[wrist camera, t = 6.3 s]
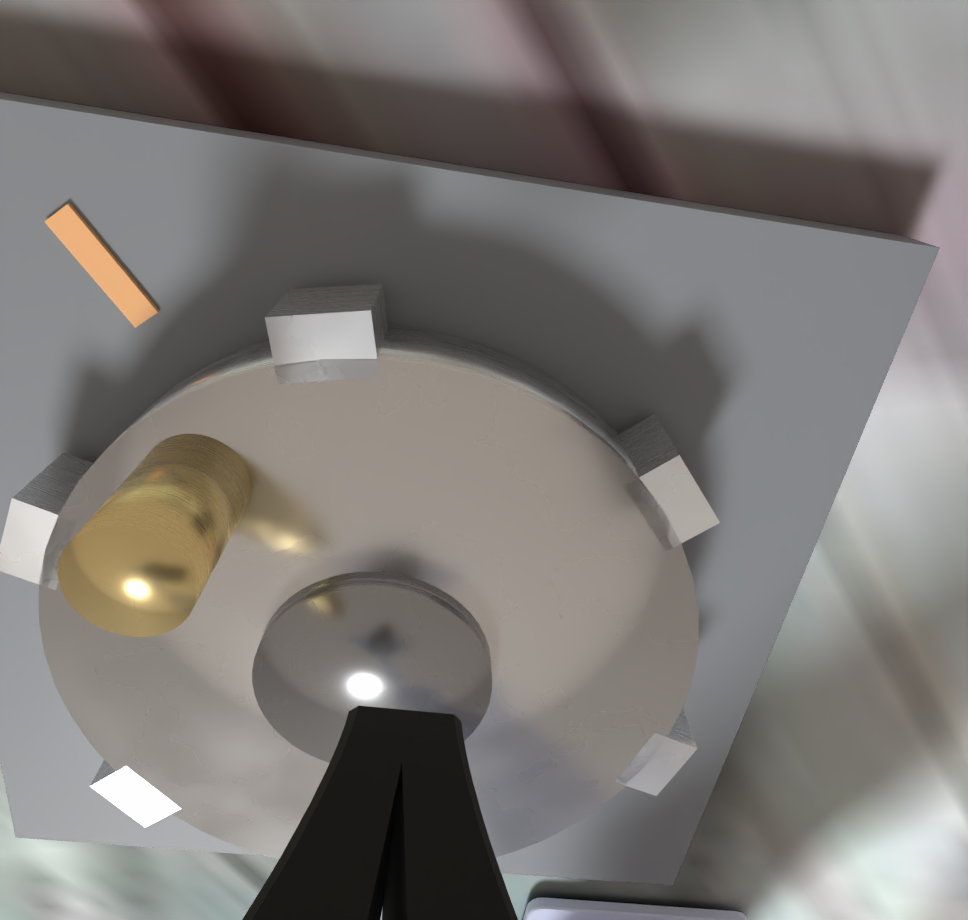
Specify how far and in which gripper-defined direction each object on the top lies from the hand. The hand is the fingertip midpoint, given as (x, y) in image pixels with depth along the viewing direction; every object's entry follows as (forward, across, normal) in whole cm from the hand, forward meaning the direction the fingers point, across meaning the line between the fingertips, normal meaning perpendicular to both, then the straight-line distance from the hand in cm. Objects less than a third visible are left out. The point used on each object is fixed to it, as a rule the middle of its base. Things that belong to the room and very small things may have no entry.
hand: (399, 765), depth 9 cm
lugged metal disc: (+8, +1, +3) cm, 9 cm away
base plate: (+9, +1, +3) cm, 10 cm away
